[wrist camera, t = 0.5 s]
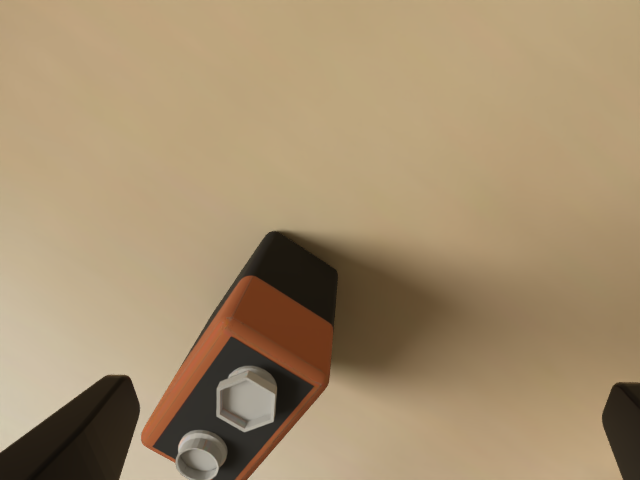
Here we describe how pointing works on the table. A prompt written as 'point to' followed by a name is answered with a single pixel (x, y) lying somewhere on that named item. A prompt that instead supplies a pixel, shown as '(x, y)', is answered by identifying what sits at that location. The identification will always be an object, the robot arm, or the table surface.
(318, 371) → the battery
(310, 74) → the table surface
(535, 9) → the table surface
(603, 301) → the table surface
